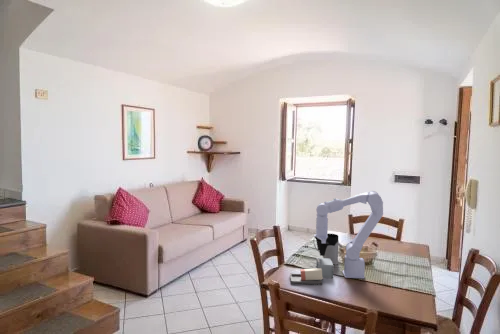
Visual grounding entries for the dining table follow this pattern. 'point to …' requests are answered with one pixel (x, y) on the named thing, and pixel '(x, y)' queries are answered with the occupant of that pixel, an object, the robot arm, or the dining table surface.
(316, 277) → the pink-topped cream pillar
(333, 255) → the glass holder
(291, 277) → the tray
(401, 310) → the dining table surface
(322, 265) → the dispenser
